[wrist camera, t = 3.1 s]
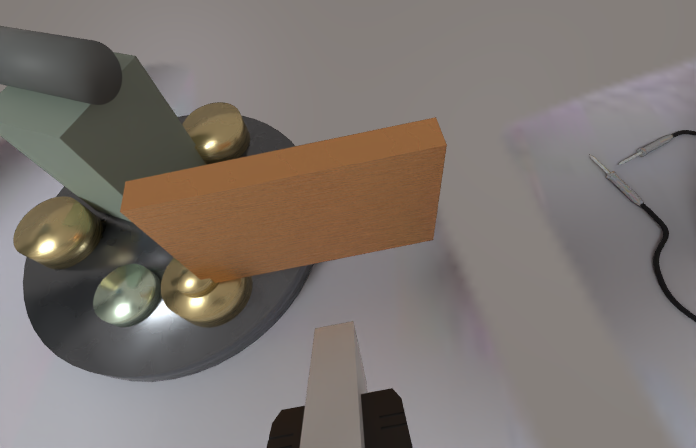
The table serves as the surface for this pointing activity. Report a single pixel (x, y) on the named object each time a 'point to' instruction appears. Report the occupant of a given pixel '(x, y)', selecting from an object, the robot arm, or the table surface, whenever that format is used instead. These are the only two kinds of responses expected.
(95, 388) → the table surface
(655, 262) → the multimeter
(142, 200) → the lever
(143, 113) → the wedge with rod handle
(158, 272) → the tribrach plate
